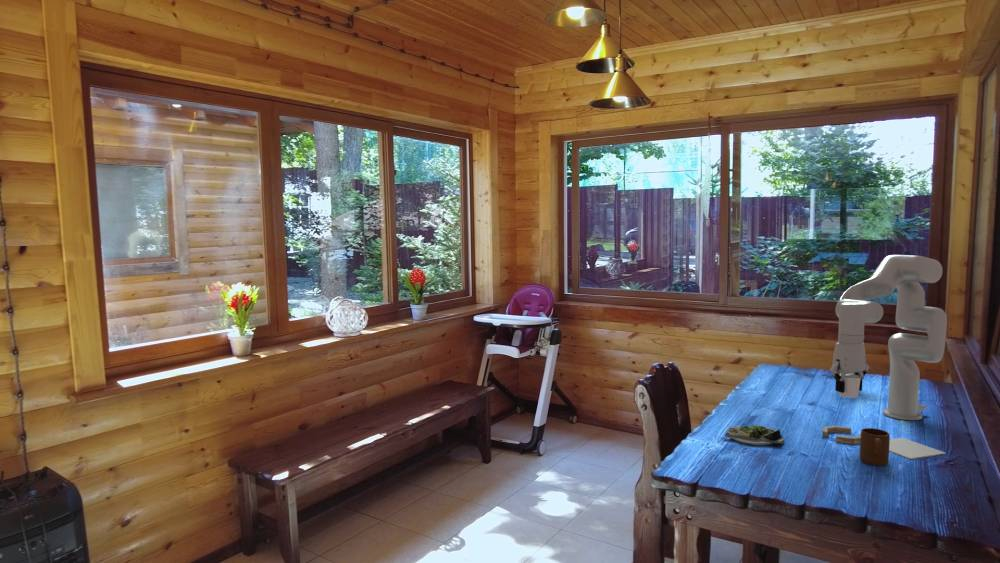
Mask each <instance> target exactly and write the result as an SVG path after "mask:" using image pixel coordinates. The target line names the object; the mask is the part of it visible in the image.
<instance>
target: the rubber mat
mask: <svg viewBox="0 0 1000 563" xmlns="http://www.w3.org/2000/svg"><path fill="white" fill-rule="evenodd" d="M889 453H892V454H895V455H897V456H899V457H902V458H905V459H908V460H917V459H923V458H929V457H935V456H936V455H937V456H942V455H941V454H943V455H947V453H946V452H944V451H943V450H939V449H936V448H932V447H931V446H927V445H924V444H921V443H919V442H915V441H913V440H911V439H907V438H904V437H898V438H897V437H896V438H891V439H890V443H889Z"/></svg>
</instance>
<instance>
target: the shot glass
mask: <svg viewBox="0 0 1000 563" xmlns="http://www.w3.org/2000/svg"><path fill="white" fill-rule="evenodd" d="M840 376H841V374H840ZM860 380H861V377H860V376H859V375H855V374H846V375H845V377H844V380H843V381H845V390H844V393H841V392H838V396H840V397H842V398H847V399H849V398H850V399H856V398H858V397H859V386H860Z"/></svg>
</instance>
